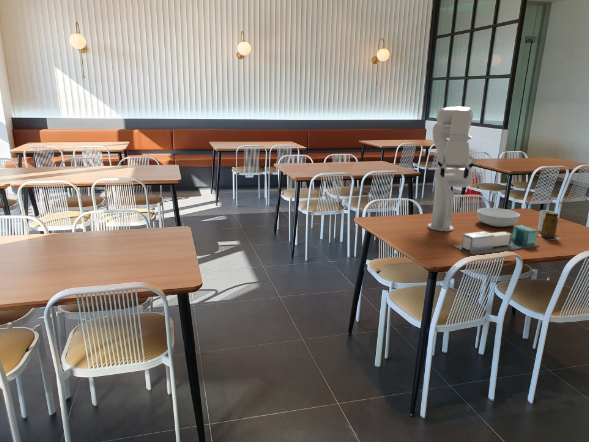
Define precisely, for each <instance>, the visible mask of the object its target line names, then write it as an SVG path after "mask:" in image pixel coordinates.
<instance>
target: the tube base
mask: <svg viewBox="0 0 589 442" xmlns="http://www.w3.org/2000/svg"><path fill="white" fill-rule="evenodd" d="M490 233H491V232H487V231H486V230H485V231H477V232H467V233H463V235H462V239H463V238H464V236H467V237H469V238H472V241H471V248H470V250H468V249H465V248H463V247H462V246H463V240H462V243H461V244H457V245H452V247H453V248H454V247H455V248H454V249H456V248H457V249H456V250H459V249H460V250H459V251H461V250H462V251H461V252H463V251H464V253H465V252H466V253H465V254H467V253H468V255H470V254H471V255H470V256H472V255H475V256H479V255H478V254H482V255H488V253H490V254H495V253H496V252H497V253H501V251H504V252H508V251H517V250H524V249H525V250H526V249H532V248H537V247H539V248H540V245H539V244H538V243H537V244H536V240H537V236H538V229H535V228H532V227H529V226H525V225H523V224H519V225H513V229H512V233H511V234H512V238H511V244H510V245H503V246H495V247H493V241H494V235H493V234H490Z"/></svg>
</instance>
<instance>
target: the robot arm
mask: <svg viewBox="0 0 589 442" xmlns="http://www.w3.org/2000/svg"><path fill="white" fill-rule="evenodd" d="M473 113H474V112H473V110H472V108H471V107H467V106H448V107H442V108H439V109H438V111H437V114H436V115H437V116H436V122H437V123H435V124H434V125H433V127H432V140H433V143H434V146H435V149H436V157H435V162H436V164H437V167H438V168H436V170H435V172H434V195H433V202H432V203H433V207H432V212H431V213H432V215H431V223H428V224H427V227H428V229H430V230H432V231H436V230H437V231H438V232H443V231H445V232H447V233H448V232H452V231H454V226H452V220H453V219H452V217H453V208H454V202H455V201H454V200H455V194H454V192H453V190H452V189H451V188H453V187H454V188H467V187H470V186H471V185H472V182H473V171H472V167H474V166H475V164H476V163H477V159H476V158H474V157H473V156H471V155H470V142H469V140H472V136H470V135H469V132H470V128H471V125H472V121H473V118H474V114H473ZM437 231H436V232H437Z"/></svg>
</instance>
